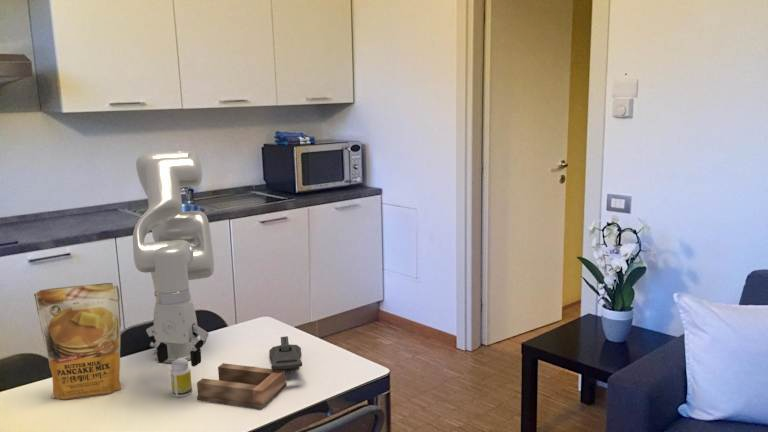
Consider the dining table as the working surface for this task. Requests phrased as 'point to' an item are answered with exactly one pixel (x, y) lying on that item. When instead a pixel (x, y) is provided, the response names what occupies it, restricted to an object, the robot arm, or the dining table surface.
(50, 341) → the pancake mix bag
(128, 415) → the dining table surface
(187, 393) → the supplement bottle
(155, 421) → the dining table surface
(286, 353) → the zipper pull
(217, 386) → the open u-shaped wooden frame
